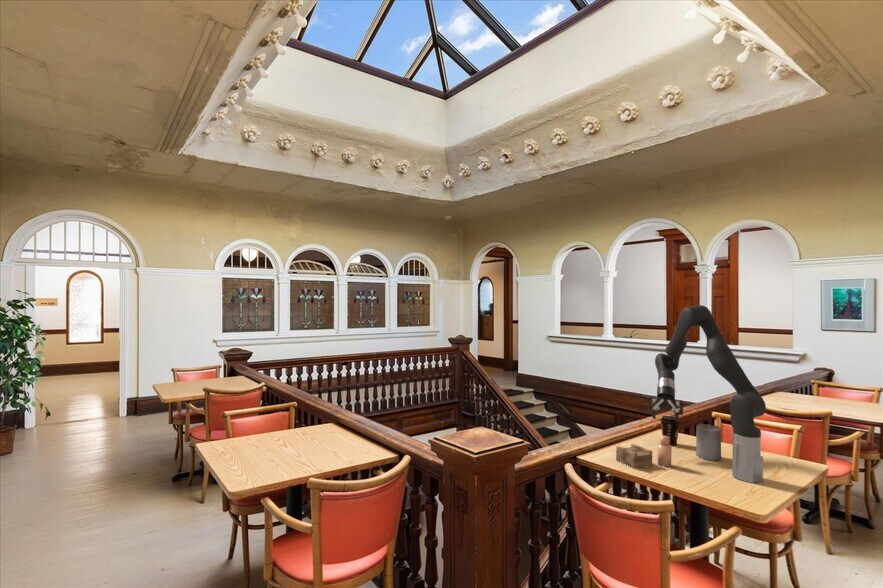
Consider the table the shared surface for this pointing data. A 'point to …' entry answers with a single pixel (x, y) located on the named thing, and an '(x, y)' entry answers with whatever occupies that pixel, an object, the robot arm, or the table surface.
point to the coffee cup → (670, 429)
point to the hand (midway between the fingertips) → (665, 419)
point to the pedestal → (634, 456)
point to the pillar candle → (708, 442)
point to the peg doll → (664, 452)
